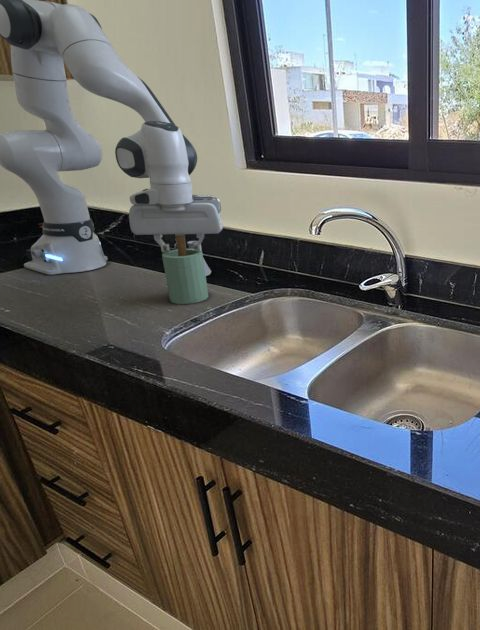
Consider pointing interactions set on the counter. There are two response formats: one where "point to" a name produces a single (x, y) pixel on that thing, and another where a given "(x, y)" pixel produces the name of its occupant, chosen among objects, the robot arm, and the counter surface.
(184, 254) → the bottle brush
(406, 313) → the counter surface
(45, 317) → the counter surface
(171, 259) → the jar
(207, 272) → the flask
